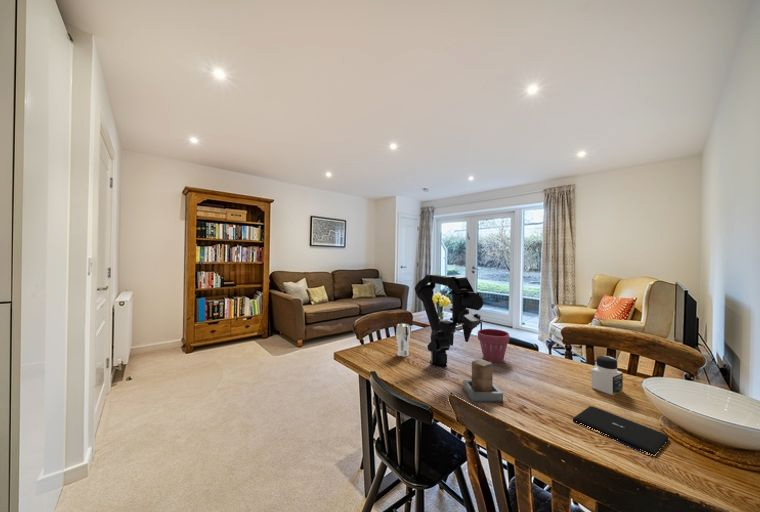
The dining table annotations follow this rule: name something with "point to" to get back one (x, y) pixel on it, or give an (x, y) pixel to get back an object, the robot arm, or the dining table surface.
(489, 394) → the holder box
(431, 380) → the dining table surface
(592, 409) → the laptop
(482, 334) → the plant pot
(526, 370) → the dining table surface
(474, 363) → the walnut block
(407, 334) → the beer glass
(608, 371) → the medicine bottle
